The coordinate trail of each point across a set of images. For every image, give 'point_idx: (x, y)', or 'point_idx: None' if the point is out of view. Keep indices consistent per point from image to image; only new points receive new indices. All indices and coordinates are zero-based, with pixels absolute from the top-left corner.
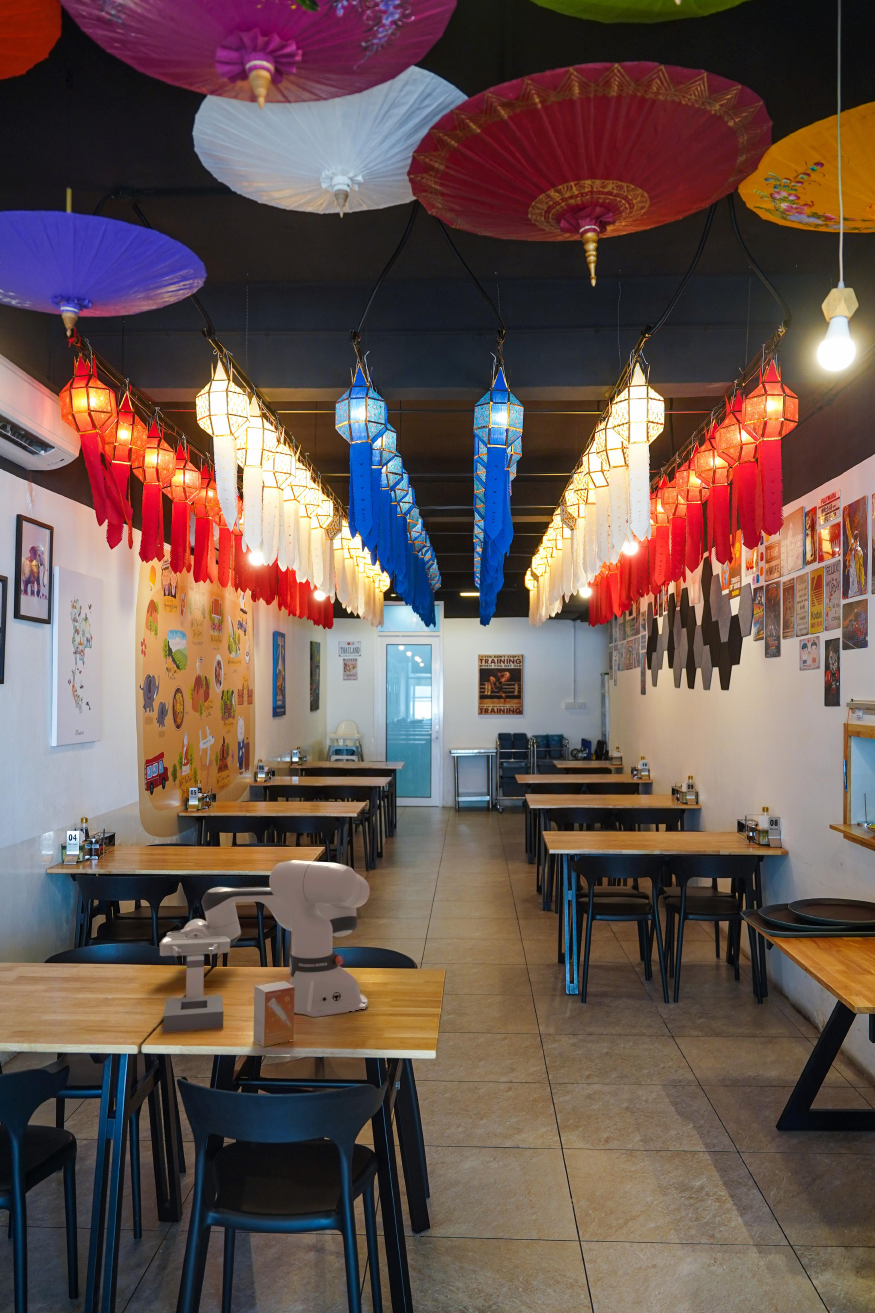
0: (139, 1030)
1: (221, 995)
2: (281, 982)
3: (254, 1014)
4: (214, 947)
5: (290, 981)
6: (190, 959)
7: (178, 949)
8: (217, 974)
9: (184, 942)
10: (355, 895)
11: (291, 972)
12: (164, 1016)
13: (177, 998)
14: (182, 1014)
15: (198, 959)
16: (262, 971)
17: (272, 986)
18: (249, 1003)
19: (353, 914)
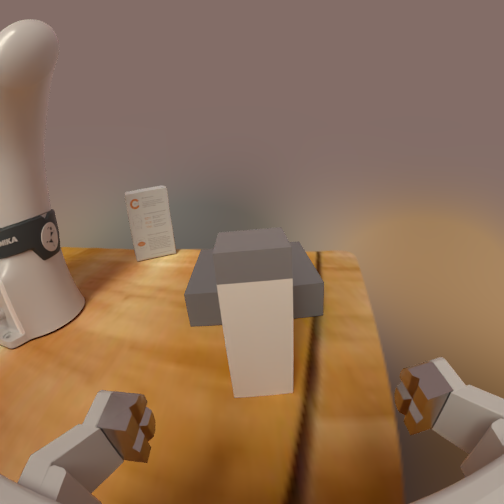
0: (341, 271)
1: (187, 290)
2: (131, 192)
3: (171, 221)
4: (81, 425)
5: (57, 265)
6: (269, 231)
7: (431, 371)
8: None
9: (470, 494)
10: None
11: (57, 242)
12: (297, 242)
13: (295, 282)
14: None
15: (238, 232)
16: None
17: (148, 188)
18: (118, 348)
19: None
